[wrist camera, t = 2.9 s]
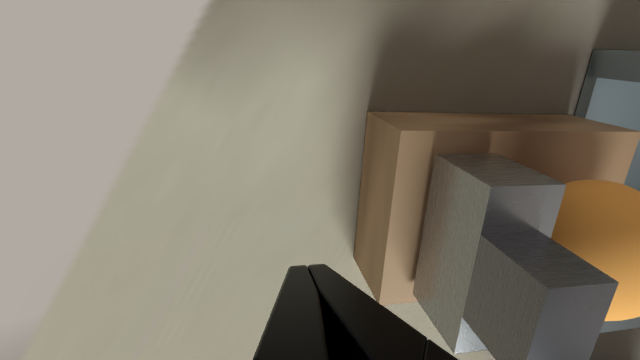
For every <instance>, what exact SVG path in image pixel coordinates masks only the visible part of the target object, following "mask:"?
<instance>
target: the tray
mask: <svg viewBox="0 0 640 360" xmlns="http://www.w3.org/2000/svg"><path fill="white" fill-rule="evenodd" d="M575 116H577V117H581V118H585V119H589V120H594V121H598V122H602V123H606V124H611V125H615V126H619V127H624V128H628V129H632V130H636V131H640V51H626V50H598V49H593V53H592V56H591V60H590V64H589V67H588V71H587V74H586V78H585V81H584V85H583V88H582V92H581V95H580V99H579V102H578V106H577V109H576V113H575ZM624 185H626V186H629V187H631V188H634V189H636V190H638V191H640V139H639V142H638V145H637V147H636V150H635V153H634V156H633V159H632V162H631V165H630V167H629V170H628V173H627V176H626V179H625V182H624ZM635 328H640V317H637V318H633V319H627V320H622V321H604V323H603V326H602V328H601V331H600V333H605V332H612V331H620V330H628V329H635Z"/></svg>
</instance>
